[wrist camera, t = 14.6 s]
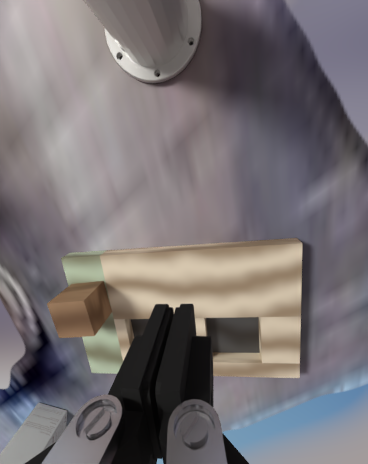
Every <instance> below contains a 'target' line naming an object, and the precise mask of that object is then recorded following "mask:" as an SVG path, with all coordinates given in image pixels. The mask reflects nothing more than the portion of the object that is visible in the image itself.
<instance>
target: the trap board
mask: <svg viewBox="0 0 368 464" xmlns="http://www.w3.org/2000/svg"><path fill="white" fill-rule="evenodd" d="M61 260H62V264H63V267H64V271H65V275H66V279H67V282H68V286H70V285H71V284H76V283H86V282H96V281H104V284H105V288H106V291H107V295H108V299H109V302H110V306H111V309H112V313H111V314H110V316H109V317H108V318H107V320H106V321H105V323H104V324H103V325H102V327H101V328H100V330H99V331H98V332H97V334H96V335H95V336H86V337H82V338H83V342H84V346H85V349H86V353H87V357H88V360H89V364H90V368H91V372H92V373H115V374H118V372H119V369H120V367H121V365H122V363H123V361H124V358H125V356H126V354H127V352H128V350H129V348H130V345H131V343H132V341H133V339H134V337H135V336H136V335H143V332H144V330H145V328H146V325H147V323H148V320H149V318H150V316H151V313H152V311H153V308H154V306H155V304H168V305H169V307H173V310H174V312H175V308H176V307H180V304H193V305H194V314H195V324H196V335H197V336H211V338H212V351H213V376H236V377H276V378H299V376H300V331H301V286H302V242H300V241H299V240H298V239H297V238H290V239H275V240H260V241H245V242H229V243H214V244H199V245H184V246H168V247H153V248H138V249H123V250H107V251H92V252H77V253H69V254H67V255H66V256H64V257H62V258H61Z"/></svg>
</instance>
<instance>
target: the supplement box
mask: <svg viewBox="0 0 368 464" xmlns="http://www.w3.org/2000/svg"><path fill="white" fill-rule="evenodd" d="M66 425H67V410H63V409H60V408H56V407H52V406H49V405H46V404H42V403H38V404H37V405H36V407H35V408H34V409H33V411H32V412H31V413H30V415H29V416H28V417H27V419H26V420H25V421H24V423H23V424H22V426H21V427H20V428H19V430H18V431H17V432H16V434H15V435H14V436H13V438H12V439H11V440H10V442H9V443H8V444H7V446H6V447H5V448H4V450H3V451H2V452H1V454H0V464H25V463H26V462H28V461H29V460H30V459H32V458H33V457H35V456H36V455H38V454H39V453H41V452H42V451H43V450H45V449H46V448H48V447H49V446H51V445H52V444H54V443H55V442H56V441H57V440H58V439H59V437H60V436H61V435H62V433H63V432H64V430H65V429H66Z"/></svg>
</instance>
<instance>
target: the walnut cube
mask: <svg viewBox="0 0 368 464" xmlns="http://www.w3.org/2000/svg"><path fill="white" fill-rule="evenodd" d="M47 305H48V308H49V311H50V313H51V316H52V319H53V322H54V324H55V327H56V330H57V333H58V336H59V338H68V337H86V336H95V335H96V334H97V332H98V331H99V330H100V328H101V327H102V325H103V324H104V323H105V321H106V320H107V318H108V317H109V316H110V314H111V313H112V309H111V306H110V302H109V299H108V295H107V291H106V288H105V284H104V281H96V282H86V283H76V284H71V285H70V286H68V287H67V288H66V289H65V290H64V291H62V292H61V293H60V294H59V295H57V296H56V297H55V298H54V299H52V300H51V301H50V302H49V303H47Z"/></svg>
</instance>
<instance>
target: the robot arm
mask: <svg viewBox="0 0 368 464" xmlns="http://www.w3.org/2000/svg"><path fill="white" fill-rule="evenodd" d="M83 1H84V2H85V3H86V4H87V6H88V7H89V8H90V10H91V11H92V12H93V13H94V15H95V16H96V17H97V18H98V20H99V21H100V22H101V24H102V25H103V26H104V30H105V37H106V41H107V45H108V47H109V50H110V52H111V54H112V56H113V58H114V59H115V61H116V62H117V64H118V65H119V66H120V67H121V68H122V69H123V70H124V71H125V72H126V73H127V74H128V75H130V76H131V77H133V78H135V79H136V80H139V81H142V82H146V83H159V82H164V81H167V80H169V79H171V78H173V77H175V76H176V75H178V74H179V73H180V72H181V71H182V70H183V69H184V68H185V67H186V66H187V65H188V63H189V62H190V61H191V59H192V57H193V56H194V54H195V52H196V49H197V46H198V43H199V40H200V34H201V8H200V3H199V0H83ZM191 43H193V45H192V46H190V44H191ZM122 57H123V58H122ZM121 58H122V59H121ZM158 74H160V76H159V77H157V75H158ZM162 457H163V463H164V464H249V463H248V462H247V461H246V460H245V458H244V457H243V456H242V455H241V454H240V453H239V452H238V450H237V449H236V448H235V447H234V446H233V445H232V443H231V442H230V441H229V440H228V439H227V438H226V437H225V435H224V434H223V433H222V429H221V423H220V420H219V416H218V414H217V412H216V411H215V409H214V408H213V351H212V338H211V336H197V335H196V324H195V314H194V305H193V304H180V307H176V308H175V312H174V310H173V307H169V305H168V304H155V306H154V308H153V311H152V313H151V316H150V318H149V320H148V323H147V325H146V328H145V330H144V332H143V335H136V336H135V337H134V339H133V341H132V343H131V345H130V348H129V350H128V352H127V354H126V356H125V358H124V361H123V363H122V365H121V367H120V369H119V372H118V374H117V376H116V378H115V380H114V382H113V385H112V387H111V389H110V391H109V393H108V395H100V396H97V397H95V398H93V399H91V400H89V401H88V402H87V403H85V404H84V405H83V406H82V407H81V408H80V409H79V410H78V412H77V413H76V414H75V416H74V417H73V419H72V420H71V421H70V423H69V424H68V426H67V427H66V429H65V430H64V432H63V433H62V435H61V436H60V437H59V439H58V440H57V441H56V442H55V443H54V444H52V445H51V446H49V447H48V448H46V449H45V450H43V451H42V452H41V453H39V454H38V455H36V456H35V457H33V458H32V459H30V460H29V461H28V462H26V463H25V464H156V462H157V458H160V459H162Z"/></svg>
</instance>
